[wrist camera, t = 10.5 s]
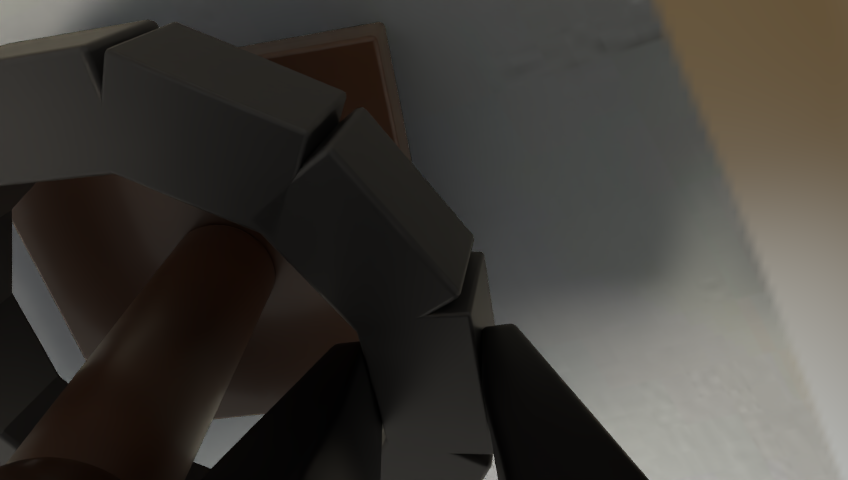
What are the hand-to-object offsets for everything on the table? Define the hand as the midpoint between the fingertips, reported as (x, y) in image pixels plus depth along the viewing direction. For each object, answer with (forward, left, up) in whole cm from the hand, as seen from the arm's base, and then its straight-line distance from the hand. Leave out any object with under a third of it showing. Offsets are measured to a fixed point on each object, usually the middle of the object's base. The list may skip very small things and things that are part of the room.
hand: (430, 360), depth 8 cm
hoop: (+4, 0, -1) cm, 4 cm away
